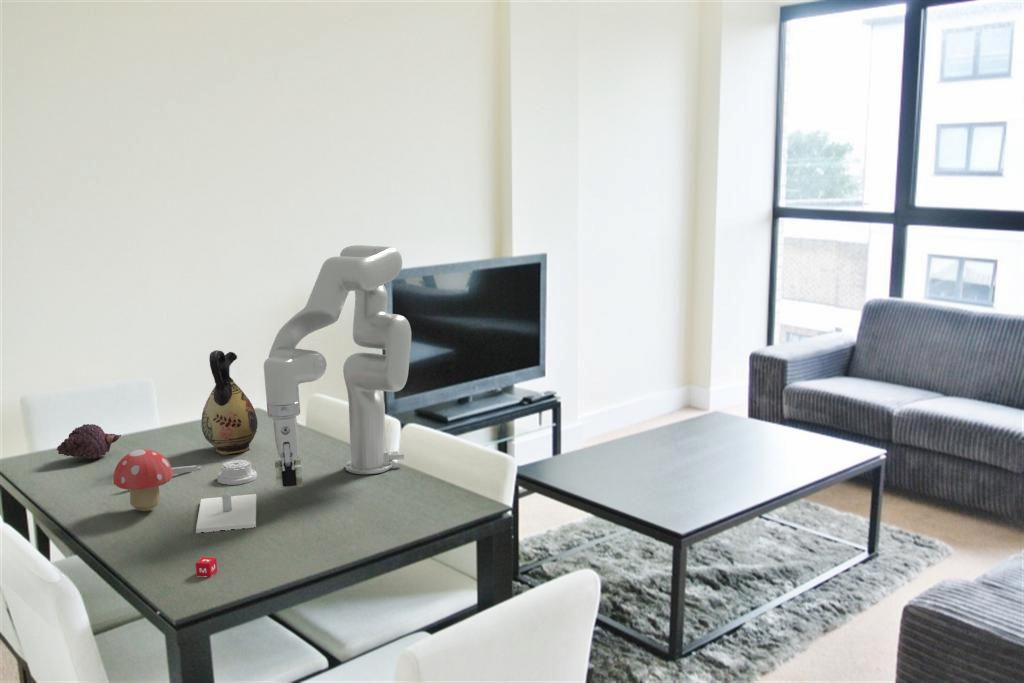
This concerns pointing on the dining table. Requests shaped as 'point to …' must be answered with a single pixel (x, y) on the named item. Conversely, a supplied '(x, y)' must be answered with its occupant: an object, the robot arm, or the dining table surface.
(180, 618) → the dining table surface
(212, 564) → the dice
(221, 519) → the pin board
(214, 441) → the ceramic jug
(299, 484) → the pale green open box
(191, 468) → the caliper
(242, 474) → the mechanical component
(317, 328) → the robot arm
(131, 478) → the decorative mushroom
